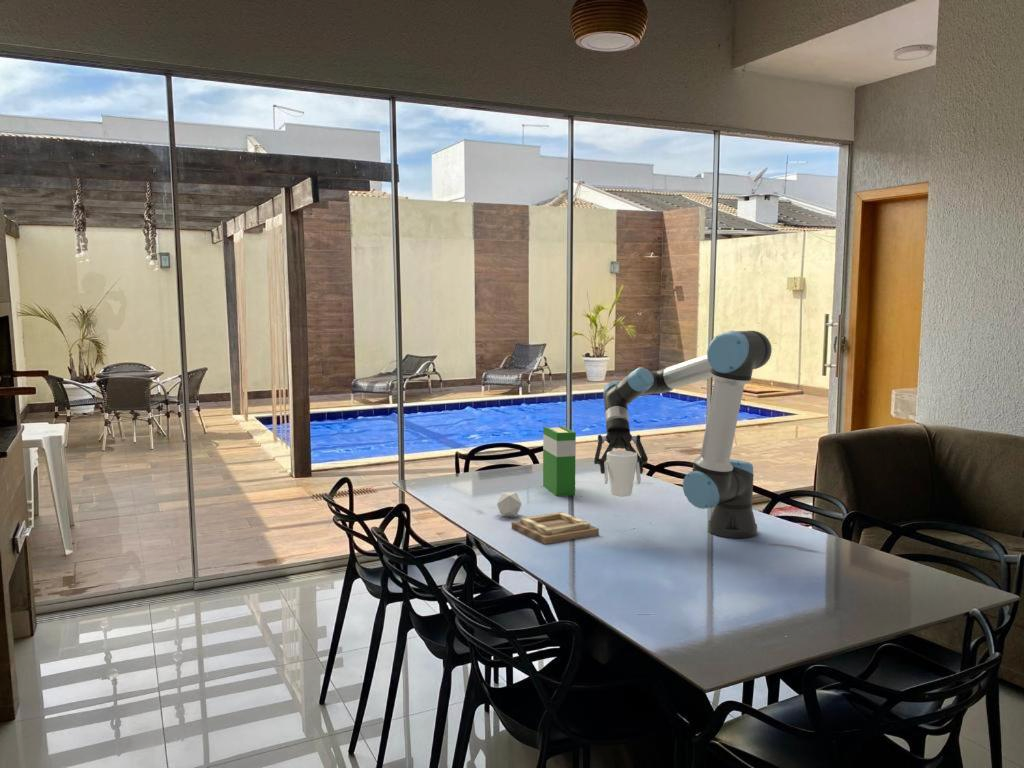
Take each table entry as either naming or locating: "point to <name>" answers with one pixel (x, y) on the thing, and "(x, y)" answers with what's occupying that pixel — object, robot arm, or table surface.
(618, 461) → the foam cup
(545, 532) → the base board
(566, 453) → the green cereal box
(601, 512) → the table surface
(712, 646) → the table surface
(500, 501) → the die
